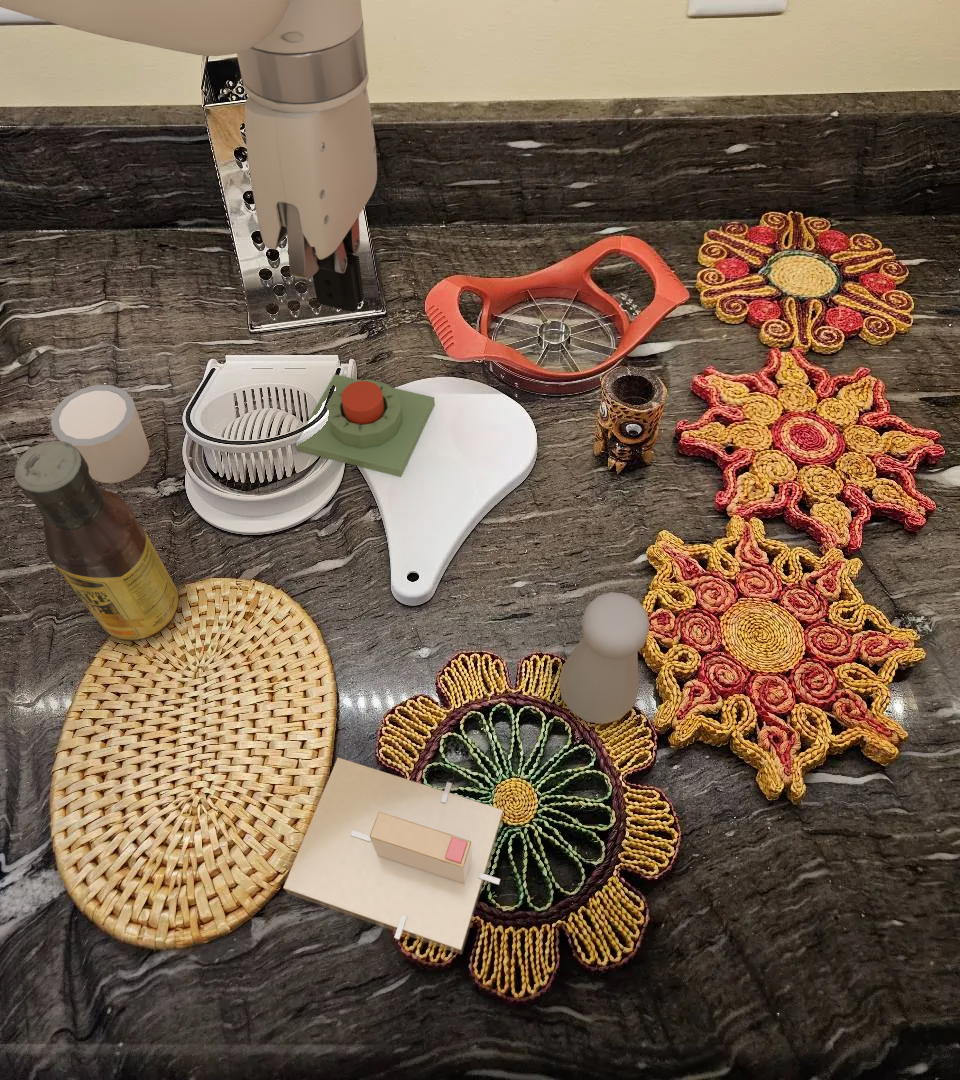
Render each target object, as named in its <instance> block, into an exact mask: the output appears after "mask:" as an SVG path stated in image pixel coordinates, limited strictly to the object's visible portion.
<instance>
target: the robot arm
mask: <svg viewBox="0 0 960 1080" xmlns="http://www.w3.org/2000/svg"><path fill="white" fill-rule="evenodd" d="M0 8H2V9H5V10H8V11H12V12H14V13H15V12H16V13H18V14H22V15H24V16H29V17H32V18H36V19H37V20H38V19H39V20H41V21H45V22H49V23H52V24H56V25H58V26H63V27H66V28H70V29H73V30H78V31H81V32H85V33H89V34H92V35H96V36H102V37H106V38H111V39H114V40H121V41H124V42H129V43H135V44H141V45H145V46H149V47H150V46H151V47H156V48H159V49H163V50H169V51H170V50H171V51H175V52H180V53H186V54H190V55H197V56H204V57H222V56H229V55H235V54H236V57H237V62H238V66H239V70H240V71H239V72H240V77H241V80H242V84H243V89H244V92H245V93H246V95H247V96H248V97H247V99H246V101H245V102H244V131H245V145H246V146H245V147H246V154H247V164H248V171H249V178H250V184H251V191H252V197H253V201H254V207H255V213H256V218H257V223H258V228H259V232H260V237H261V239H262V243H263V245H264V246H265V248H266V249H269V250H275V251H276V250H277V249H278V247H279V246H280V245H281V243H282V242H283V240H284V239H285V238H286V239H287V240H286V241H287V254H288V269H289V275H290V276H291V277H294V278H299V279H301V280H302V279H303V280H306V281H309V280H310V279H312V280H313V286H314V291H315V297H316V301H317V303H318V304H320V305H322V306H326V307H330V308H334V309H339V310H343V311H348V312H352V313H354V312H356V311H357V309H358V308H359V304H360V303H361V302H362V300H363V299H364V297H365V293H364V288H363V286H364V285H363V279H362V270H361V264H360V256H359V255H356V254H357V253H358V252H359V250H360V248H361V247H360V245H361V234H360V215H361V214H362V212H363V210H364V208H365V207H366V205H367V204H368V202H369V200H370V198H371V197H372V195H373V193H374V191H375V189H376V186H377V181H378V161H377V147H376V146H377V145H376V138H375V131H374V123H373V117H372V116H373V115H372V110H371V103H370V97H369V92H368V87H367V86H368V83H369V80H370V79H369V66H368V56H367V47H366V45H367V44H366V37H365V36H366V35H365V27H364V18H363V8H362V0H0Z"/></svg>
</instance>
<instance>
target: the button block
mask: <svg viewBox="0 0 960 1080" xmlns="http://www.w3.org/2000/svg"><path fill="white" fill-rule="evenodd" d="M359 381H368V382H372V383H374V384H376V385H377V386H378V387H379V388H380V389H381V391H382V394H383V401H384V412H383V414H382V416H381V417H380V418H379V419H378V420H377V421H375V422H373V423H370V424H364V425H361V424H355V423H353V422H351V421H349V420H348V419H347V418H346V416H345V414H344V410H343V405H342V400H341V396H342V393H343V391H344V389H345V388H346V387H347V386H349V385H350V384H352V383H355V382H359ZM333 385H334V386H335V387H336V391H334V392H333V394H332V396H331V398H330V399H329V401H328V403H327V405H326V408H327V410H329V416H328V421H327V422H326V424H325V425H324V426H323V428H322V429H321V430H319V431H318V432H317V433H316V434H314V435H313V436H312V437H310V438H309V439H307V440H306V441H304V442H302V443H300V444H298V446H296V445H295V449H296V451H297V452H299V453H303V454H308V455H312V456H316V457H320V458H324V459H327V460H332V461H336V462H340V463H342V464H348V465H351V466H356V467H360V468H363V469H367V470H372V471H375V472H379V473H383V474H387V475H390V476H395V477H398V478H401V477H403V475H404V473H405V470H406V468H407V466H408V463H409V461H410V459H411V457H412V456H413V455H412V454H413V453H414V450H415V449H416V446H417V444H418V442H419V440H420V438H421V435H422V433H423V431H424V429H425V427H426V425H427V423H428V420H429V419H430V416H431V415H432V412H433V409H434V408H435V405H436V401H435V397H433V396H429V395H425V394H421V393H417V392H412V391H408V390H404V389H399V388H395V387H392V386H390V385H388V384H387V383H386V382H382V381H378V380H373V379H370V378H369V379H357V378H353V377H349V376H344V375H340V374H336V373H335V374H333V376H332V378H331V380H330V381H329V383H328V385H327V386H326V389H325V390H324V392H323V394H322V396H321V397H320V399H319V401H318V402H317V404H316V405H315V408H314V409H313V411H312V413H311V415H310V417H309V418H308V420H307V422H308V421H309V420H310V419H311V418H312V417H313V416H314V415H316V414H317V413H318V411H319V410H320V408H321V406H322V403H323V402H324V401H325V400H326V398H327V397H328V394H329V392H330V389H331V388H332V386H333Z"/></svg>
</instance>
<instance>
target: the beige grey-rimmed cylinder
mask: <svg viewBox="0 0 960 1080" xmlns="http://www.w3.org/2000/svg"><path fill="white" fill-rule="evenodd" d="M50 425H51V431H52V433H53V434H54V436H55V437H56V438H57V439H58V441H63V442H67V443H69V444H71V445H73V446H74V447H75V448H77V449H78V450H79V452H80V453H81V455H82V456H83V458H84V459H85V461H86V463H87V465H88V467H89V474H90V476H91V477H92V479H93V481H96V482H99V483H102V484H103V483H104V484H116V483H120V482H122V481H126V480H129V479H131V478H132V477H134V476H136V475H137V474H139V473H140V472H141V471H142V470H143V469H144V467H145V466H146V465H147V463H148V462H149V459H150V454H151V449H150V445H149V442H148V439H147V436H146V433H145V429H144V428H143V424H142V422H141V418H140V416H139V413H138V410H137V408H136V404H135V401H134V399H133V397H132V396H131V395H130V394H129V393H128V392H127V391H126V390H125V389H123V388H121V387H117V386H114V385H112V384H110V385H109V384H94V385H90V386H87V387H83V388H79V389H78V390H76V391H74V392H72V393H71V394H69V395H67V396H66V397H64V398H63V400H61V402H60V403H59V404H58V405H57V406H56V407H55V408H54V410H53V413H52V416H51V418H50Z"/></svg>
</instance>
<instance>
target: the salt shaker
mask: <svg viewBox="0 0 960 1080" xmlns="http://www.w3.org/2000/svg"><path fill="white" fill-rule="evenodd" d="M650 629H651V627H650V621H649V617H648V612H647V609H646V608H645V607H644V606H643V604H641V602H640V600H638V599H637V598H634V597H633V596H631V595H629V594H627V593H623V592H616V591H609V592H606V593H602V594H599V595H597V596H596V597H595V598H594V599H593V600H592V601H590V602H589V603H588V604H587V606H586V607H585V610H584V613H583V616H582V619H581V632H582V637H581V639H580V640H579V641H578V643H577V644H576V646H575V648H574V649H573V650H572V652H571V653H570V655H569V656H568V658H567V659H566V660H565V662H564V663H563V665H562V669H561V672H560V675H559V678H558V682H559V690H560V691H559V692H560V698H561V700H562V701H563V703H564V705H565V706H566V707H567V708H568V710H569V711H570V712H571V713H572V714H573V715H575V716H576V717H578V718H579V719H581V720H583V721H584V722H586V723H593V724H601V725H606V724H609V723H613V722H615V721H620V720H621V719H623V718H624V716H626V714H627V713H629V711H630V710H631V709H632V708H633V707H635V705H636V704H635V703H636V700H637V696H638V695H639V689H640V685H639V656H638V655H639V651H640V650H641V649H642V648H643V647H644V646H645V644H646V641H647V638H648V636H649V632H650Z"/></svg>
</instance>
